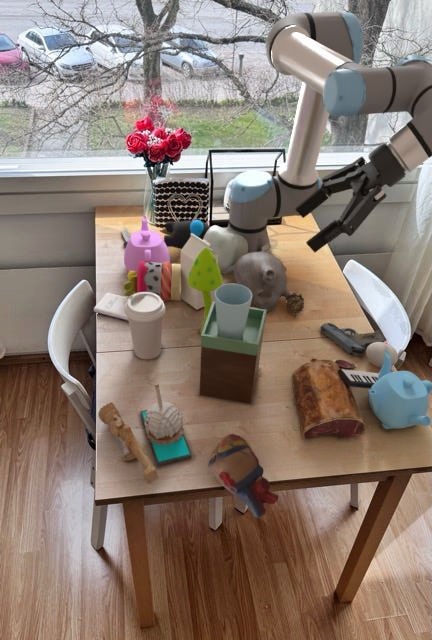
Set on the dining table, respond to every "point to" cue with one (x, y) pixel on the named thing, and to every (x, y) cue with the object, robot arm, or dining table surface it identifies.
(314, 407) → the cured meat
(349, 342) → the handgun
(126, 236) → the knife
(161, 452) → the smartphone
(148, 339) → the coffee cup
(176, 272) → the cake
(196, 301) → the milk carton
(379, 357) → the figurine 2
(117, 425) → the figurine
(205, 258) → the mushroom
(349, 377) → the midi keyboard
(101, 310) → the hard drive
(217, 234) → the planter
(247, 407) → the dining table surface
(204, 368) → the stand
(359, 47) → the robot arm
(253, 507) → the anatomical model
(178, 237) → the toy
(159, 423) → the decorative ornament
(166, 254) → the teapot
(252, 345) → the tray
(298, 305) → the pendant
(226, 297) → the cup
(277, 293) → the piggy bank
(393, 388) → the teapot
